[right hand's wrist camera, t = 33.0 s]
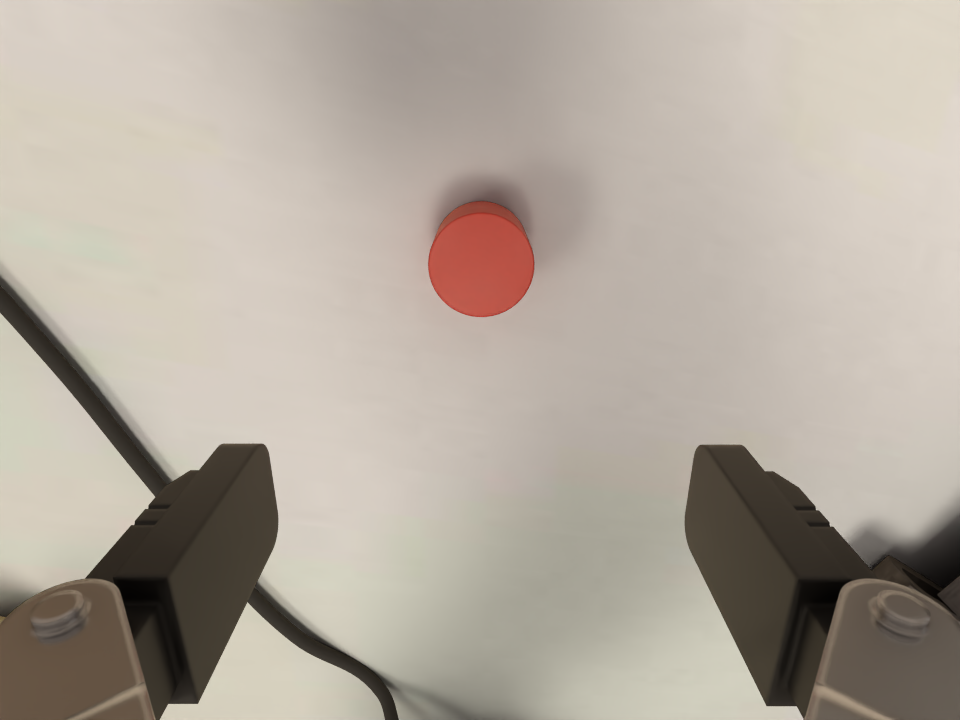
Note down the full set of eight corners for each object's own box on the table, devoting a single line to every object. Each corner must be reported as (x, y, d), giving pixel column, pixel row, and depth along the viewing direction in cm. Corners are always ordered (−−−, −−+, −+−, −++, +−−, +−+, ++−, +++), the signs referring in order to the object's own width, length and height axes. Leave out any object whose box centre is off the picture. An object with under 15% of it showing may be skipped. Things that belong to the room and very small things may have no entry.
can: (433, 291, 33) (427, 315, 29) (435, 198, 31) (429, 209, 27) (523, 296, 33) (529, 319, 29) (531, 203, 31) (539, 215, 27)
